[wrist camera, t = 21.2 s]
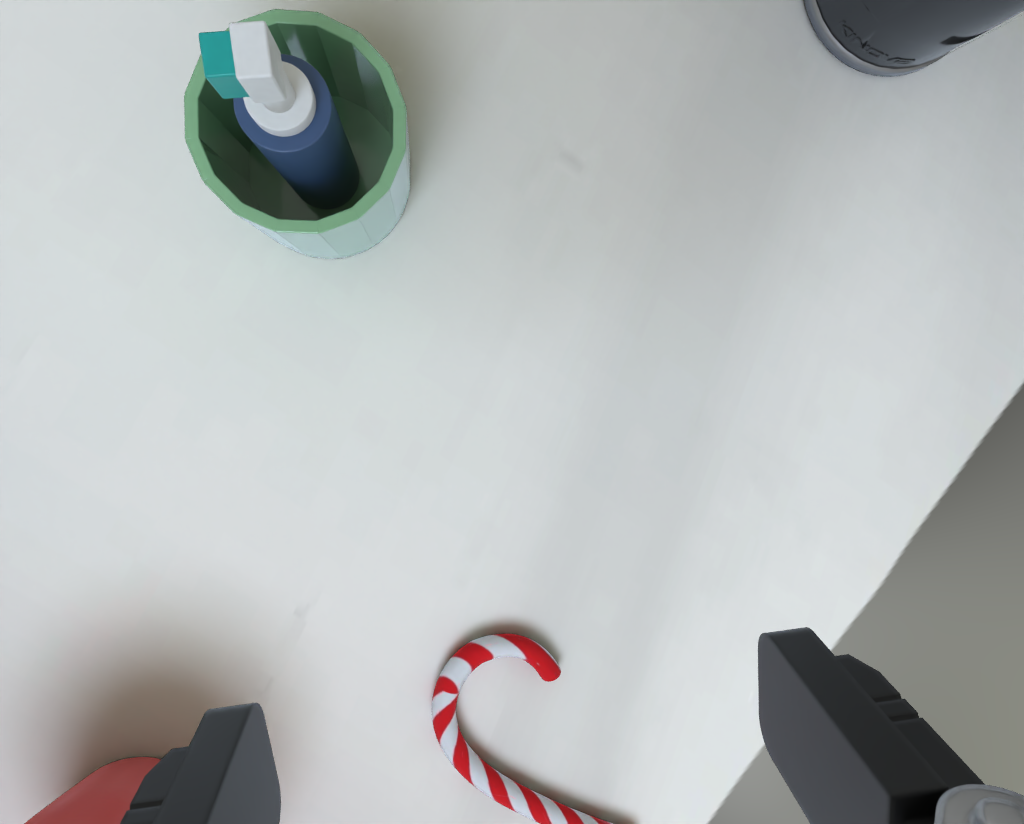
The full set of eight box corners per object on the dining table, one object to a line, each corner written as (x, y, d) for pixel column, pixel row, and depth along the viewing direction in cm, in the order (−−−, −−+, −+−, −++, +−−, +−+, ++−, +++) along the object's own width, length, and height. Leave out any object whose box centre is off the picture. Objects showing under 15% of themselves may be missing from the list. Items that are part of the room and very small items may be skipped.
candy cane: (594, 900, 41) (394, 720, 38) (589, 882, 42) (395, 708, 40) (696, 796, 41) (503, 612, 38) (688, 782, 42) (500, 603, 40)
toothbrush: (354, 138, 36) (301, -17, 20) (363, 206, 36) (318, 105, 21) (286, 143, 36) (180, -10, 20) (295, 212, 36) (198, 114, 20)
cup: (281, 61, 36) (234, -30, 27) (435, 135, 37) (439, 71, 28) (216, 216, 36) (150, 176, 27) (372, 285, 37) (356, 268, 29)
